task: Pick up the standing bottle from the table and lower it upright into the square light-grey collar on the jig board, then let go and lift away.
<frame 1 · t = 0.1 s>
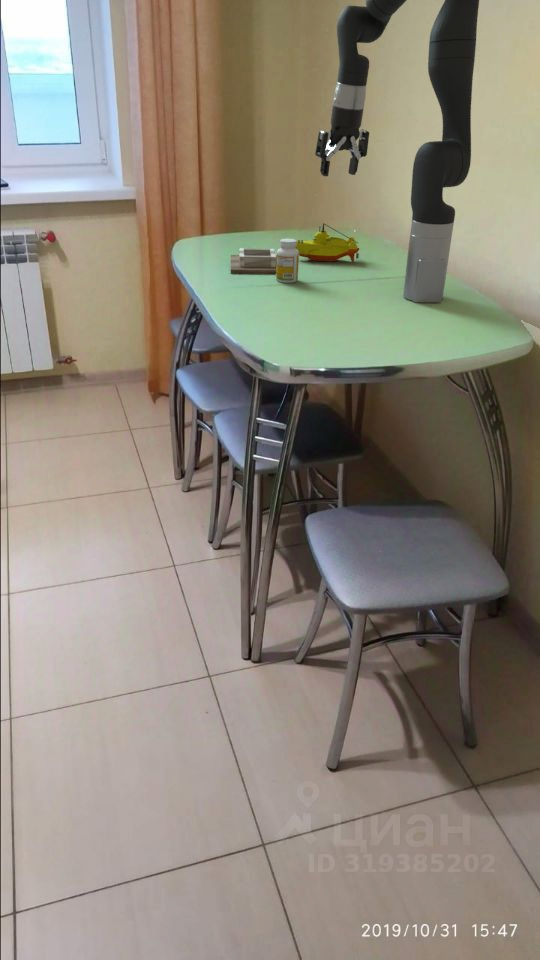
hand: (338, 174, 183), 22 cm above the table, tool pointing down, fingers open, 8 cm apart
supplement bottle: (286, 281, 179), on the table
toy boat: (325, 261, 198), on the table
jig board: (257, 266, 191), on the table
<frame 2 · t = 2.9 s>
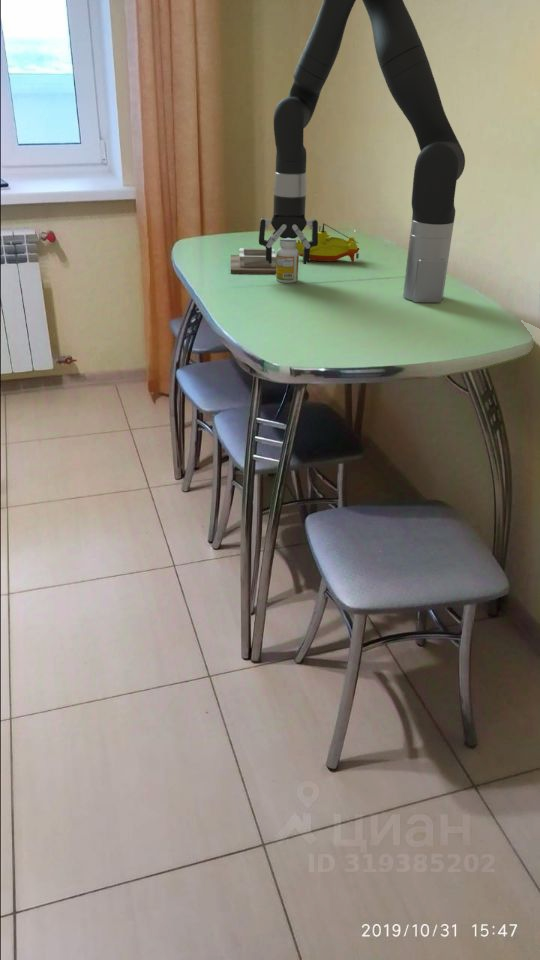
hand: (287, 263, 177), 4 cm above the table, tool pointing down, fingers open, 8 cm apart
nothing on the table moved.
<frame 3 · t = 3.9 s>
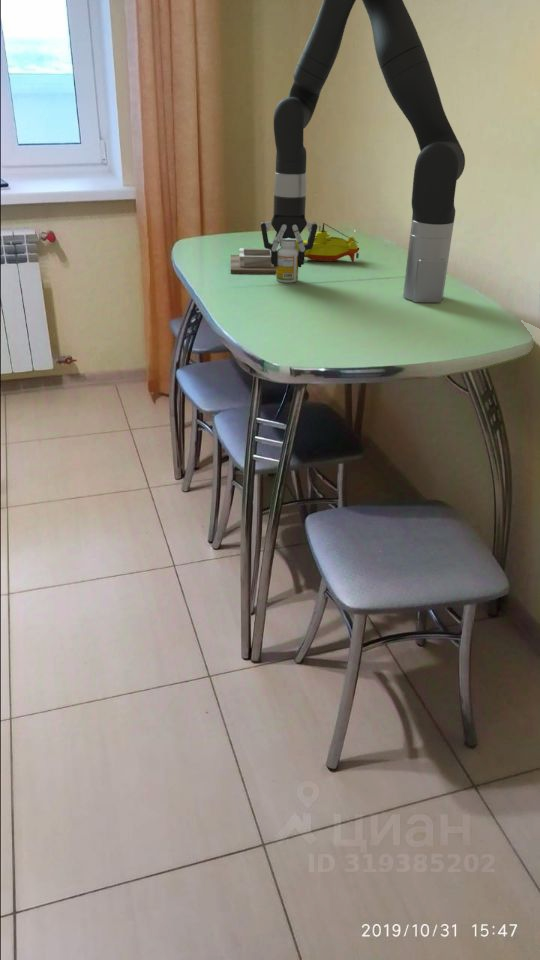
hand: (287, 266, 177), 3 cm above the table, tool pointing down, fingers closed on supplement bottle, 5 cm apart
supplement bottle: (286, 281, 179), on the table, touching gripper
everything else where it was.
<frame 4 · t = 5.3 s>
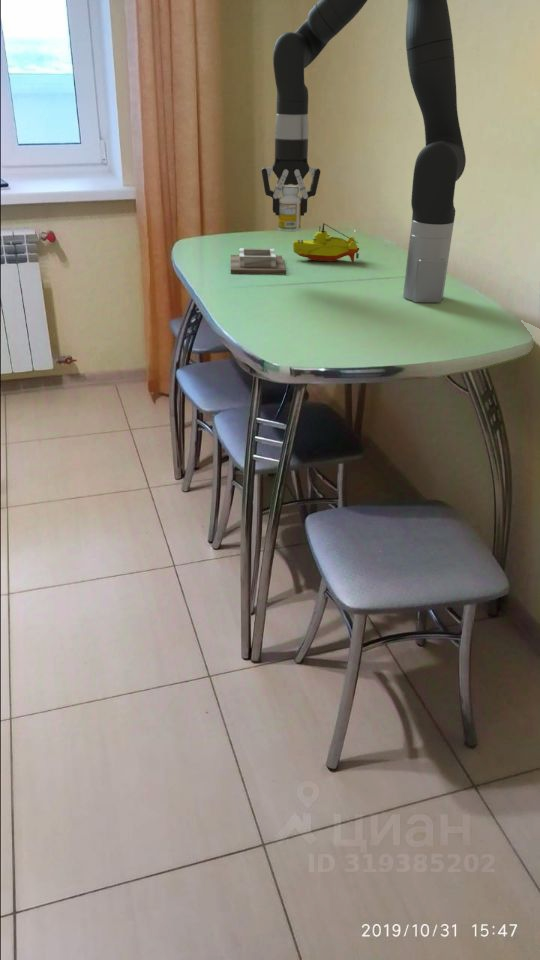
hand: (289, 214, 171), 16 cm above the table, tool pointing down, fingers closed on supplement bottle, 5 cm apart
supplement bottle: (289, 230, 173), point 12 cm above the table, touching gripper
everything else where it was.
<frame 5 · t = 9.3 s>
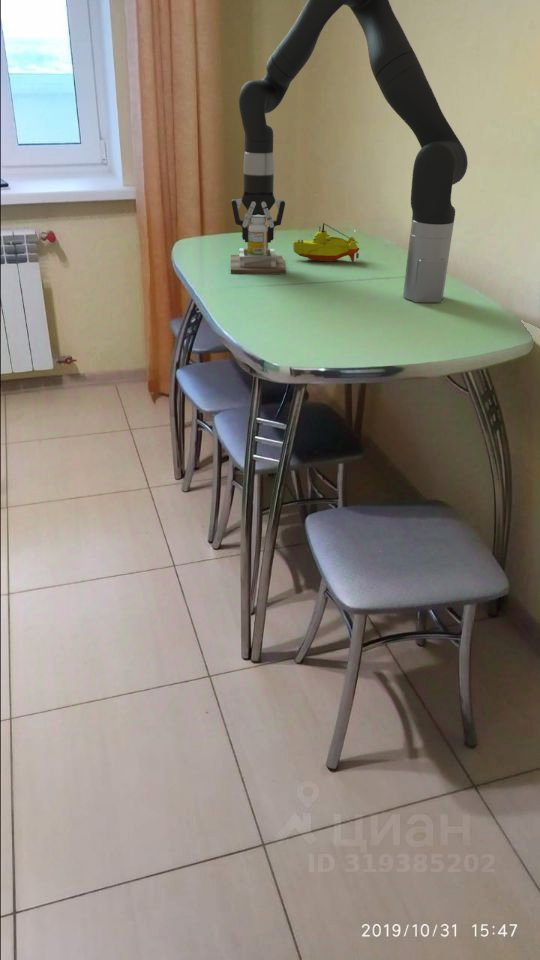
hand: (257, 241, 187), 6 cm above the table, tool pointing down, fingers closed on supplement bottle, 5 cm apart
supplement bottle: (257, 256, 189), point 3 cm above the table, touching gripper
everything else where it was.
when the fingers open (6 cm above the table, at t = 9.6 s): supplement bottle drops 2 cm, resting on jig board.
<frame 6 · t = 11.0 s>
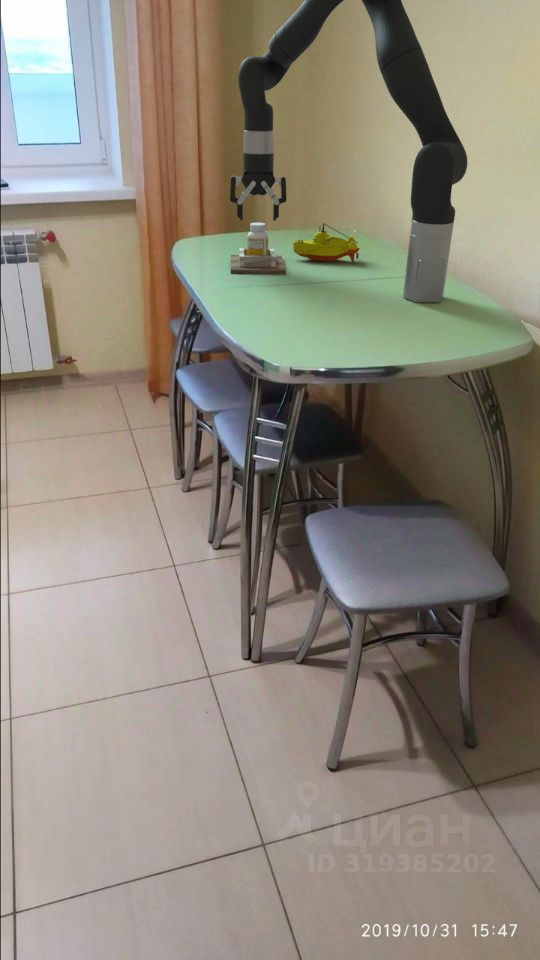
hand: (258, 219, 185), 12 cm above the table, tool pointing down, fingers open, 8 cm apart
supplement bottle: (257, 263, 190), point 1 cm above the table, touching jig board
everything else where it was.
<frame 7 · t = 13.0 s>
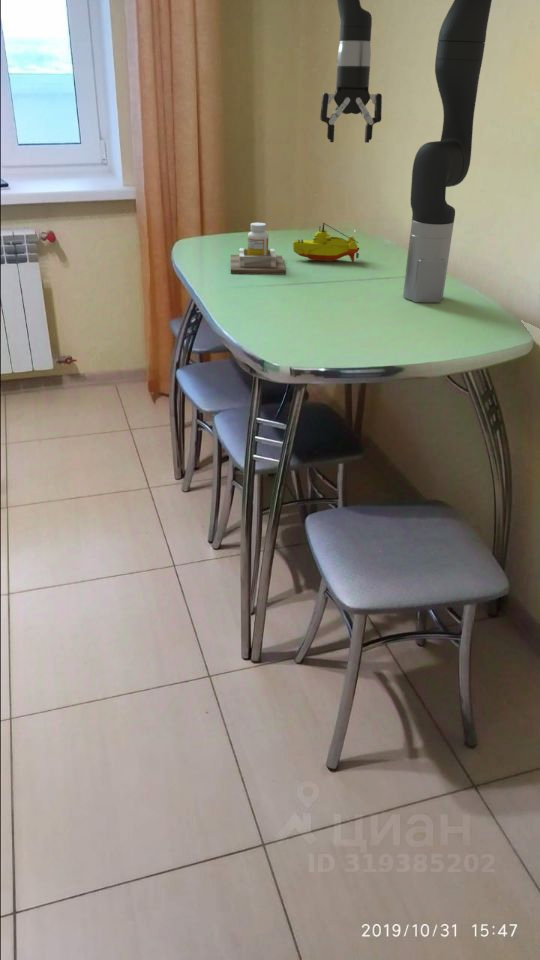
hand: (349, 142, 173), 31 cm above the table, tool pointing down, fingers open, 8 cm apart
nothing on the table moved.
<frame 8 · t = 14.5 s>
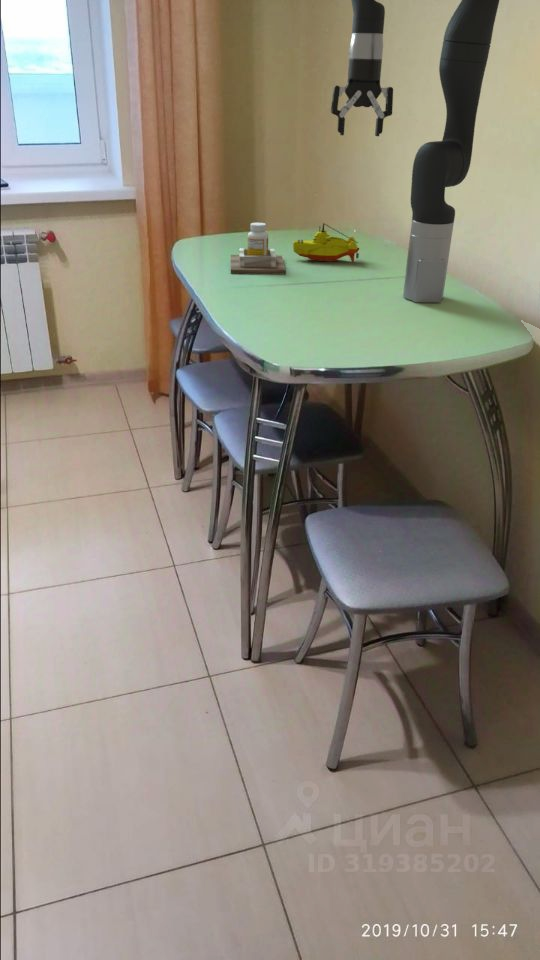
hand: (359, 135, 172), 32 cm above the table, tool pointing down, fingers open, 8 cm apart
nothing on the table moved.
at the end: supplement bottle 0.1 cm off-centre on the jig board, point 0.8 cm above the jig board's base; supplement bottle tilted 0°; the gripper is holding nothing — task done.
